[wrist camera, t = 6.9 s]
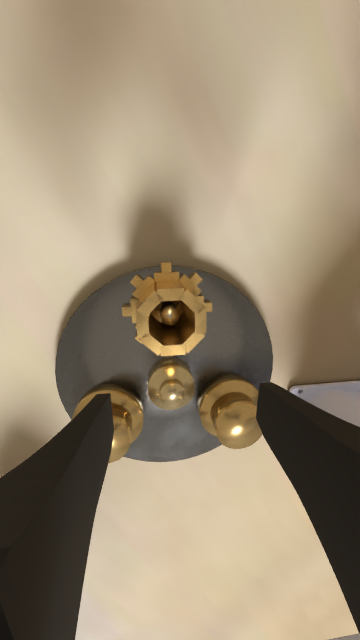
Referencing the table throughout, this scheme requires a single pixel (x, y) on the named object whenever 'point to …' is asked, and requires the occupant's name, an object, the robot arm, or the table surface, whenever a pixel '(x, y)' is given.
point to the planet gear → (168, 289)
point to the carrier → (167, 372)
